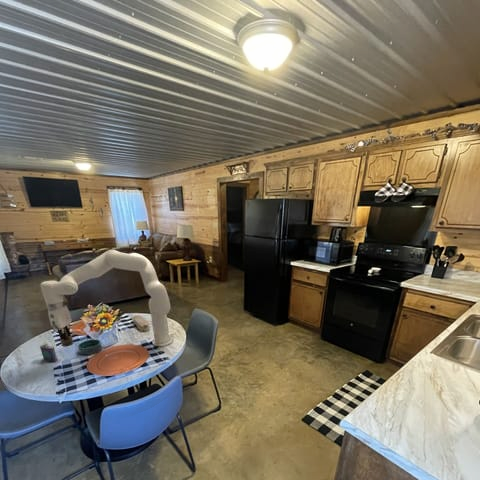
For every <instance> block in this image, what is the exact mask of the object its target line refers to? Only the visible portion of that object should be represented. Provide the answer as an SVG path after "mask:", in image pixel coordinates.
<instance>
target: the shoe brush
mask: <svg viewBox="0 0 480 480" xmlns="http://www.w3.org/2000/svg"><path fill="white" fill-rule="evenodd" d="M131 318H132V322H133V324H134V325H135V326H136V327H137V328H138V330H139V331H141V332H147V331H149V330H150V323H149V322H148V321H147V320H146V319H145V318H144V317H143V316H141V315H134V316H132V317H131Z"/></svg>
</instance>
